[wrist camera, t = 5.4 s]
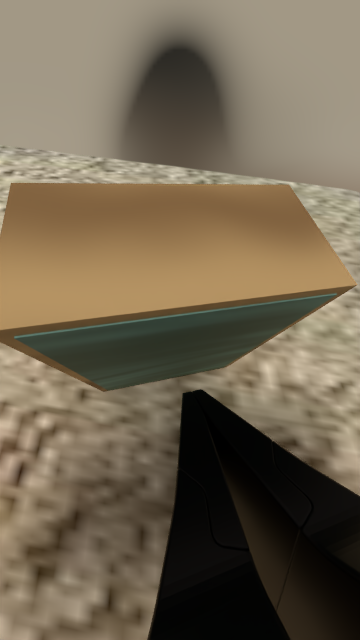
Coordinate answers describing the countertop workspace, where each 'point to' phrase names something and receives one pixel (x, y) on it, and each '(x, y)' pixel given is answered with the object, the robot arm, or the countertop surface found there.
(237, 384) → the countertop surface
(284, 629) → the robot arm
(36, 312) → the tan and teal block
